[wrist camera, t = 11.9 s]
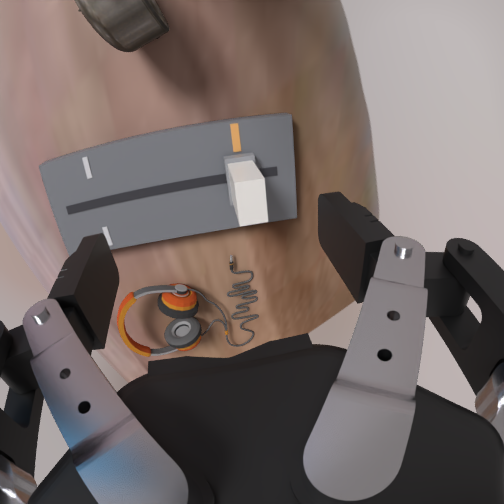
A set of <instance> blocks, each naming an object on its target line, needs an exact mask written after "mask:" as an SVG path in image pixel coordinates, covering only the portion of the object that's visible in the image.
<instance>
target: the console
mask: <svg viewBox="0 0 504 504" xmlns="http://www.w3.org/2000/svg"><path fill="white" fill-rule="evenodd" d="M252 152H253V154H254V155H255V164H256V166H257V168H258V169H259V171H260V172H261V174H262V175H263V177H264V178H265V189H266V201H267V213H268V222H274V221H280V220H287V219H293V218H297V203H296V180H295V160H294V142H293V126H292V115H291V114H288V113H277V114H266V115H257V116H248V117H239V118H231V119H224V120H217V121H210V122H204V123H198V124H192V125H186V126H181V127H175V128H170V129H165V130H160V131H155V132H150V133H146V134H141V135H137V136H133V137H128V138H124V139H120V140H116V141H112V142H108V143H105V144H101V145H97V146H94V147H90V148H86V149H83V150H80V151H76V152H73V153H70V154H67V155H63V156H60V157H57V158H54V159H51V160H48V161H45V162H44V163H42V164H41V165H40V166H39V169H40V173H41V176H42V180H43V183H44V186H45V189H46V193H47V196H48V199H49V202H50V205H51V208H52V211H53V214H54V217H55V220H56V222H57V225H58V228H59V231H60V233H61V236H62V238H63V241H64V244H65V246H66V249H67V251H68V254H69V256H71V255H72V254H73V253H74V252H76V250H77V248H78V246H79V244H80V242H81V241H82V239H83V237H85V236H90V235H94V234H99V233H103V234H104V235H105V237H106V239H107V242H108V245H109V248H110V250H112V249H117V248H122V247H127V246H133V245H138V244H144V243H149V242H155V241H160V240H166V239H171V238H177V237H183V236H189V235H194V234H200V233H206V232H212V231H218V230H224V229H230V228H236V227H242V226H239V222H238V219H237V215H236V212H235V208H234V205H230V202H229V194H228V187H227V180H226V172H225V165H224V156H231V155H238V154H245V153H252ZM265 223H267V222H265ZM258 224H261V223H258ZM252 225H255V224H252ZM246 226H248V225H246Z"/></svg>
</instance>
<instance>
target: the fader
mask: <svg viewBox="0 0 504 504" xmlns="http://www.w3.org/2000/svg"><path fill="white" fill-rule="evenodd" d="M224 165H225V172H226V180H227V187H228V194H229V202H230V205H234V208H235V212H236V215H237V219H238V222H239V226H246V225H252V224H258V223H265V222H268V213H267V201H266V189H265V178H264V177H263V175H262V174H261V172H260V171H259V169H258V168H257V166H256V164H255V155H254V154H253V152H252V153H245V154H238V155H231V156H224Z"/></svg>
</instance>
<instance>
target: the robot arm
mask: <svg viewBox="0 0 504 504" xmlns="http://www.w3.org/2000/svg"><path fill="white" fill-rule="evenodd" d="M318 237H319V241H320V244H321V247H322V249H323V250H324V252H325V253H326V255H327V256H328V258H329V259H330V261H331V262H332V264H333V266H334V267H335V269H336V270H337V272H338V273H339V275H340V276H341V278H342V280H343V281H344V283H345V284H346V286H347V288H348V289H349V291H350V292H351V294H352V296H353V297H354V299H355V301H356V302H357V303H362V302H364V303H363V305H362V308H361V312H360V315H359V318H358V321H357V324H356V327H355V330H354V333H353V336H352V339H351V341H350V344H349V347H348V350H346V349H344V348H340V347H336V346H330V345H320V344H312V342H311V340H310V338H309V335H308V333H306V334H302V335H297V336H293V337H288V338H284V339H279V340H274V341H270V342H267V343H265V344H262V345H260V346H257V347H255V348H253V349H250V350H248V351H245V352H243V353H241V354H238V355H236V356H233V357H230V358H209V357H190V356H185V357H178V358H171V359H163V360H155V361H149V362H148V374H145V375H143V376H141V377H139V378H136V379H135V380H133V381H131V382H129V383H128V384H127V385H125V386H124V387H123V388H121V389H120V390H119V391H118V392H116V390H115V389H114V388H113V387H112V385H111V384H110V383H109V381H108V380H107V378H106V377H105V375H104V374H103V373H102V371H101V370H100V368H99V367H98V365H97V364H96V363H95V361H94V360H93V358H92V357H91V352H92V350H96V349H104V348H105V343H106V338H107V333H108V328H109V324H110V319H111V315H112V310H113V306H114V302H115V298H116V294H117V290H118V286H119V273H118V269H117V266H116V263H115V261H114V258H113V255H112V253H111V250H110V248H109V245H108V242H107V239H106V237H105V235H104V234H103V233H99V234H94V235H90V236H85V237H83V239H82V241H81V242H80V244H79V246H78V248H77V250H76V252H74V253H73V254H72V255H71V256H70V257H69V258H68V259H67V260H66V261H65V263H64V265H63V267H62V269H61V271H60V273H59V275H58V279H56V281H55V283H54V285H53V287H52V289H51V291H50V294H49V296H48V298H47V299H45V300H41V301H39V302H37V303H36V304H34V305H33V306H32V307H31V308H30V309H29V310H28V311H27V312H26V314H25V316H24V318H23V325H21V326H19V327H16V328H14V329H11V330H9V331H8V329H7V328H6V327H5V325H4V324H3V322H2V321H0V377H1V378H2V379H3V380H4V381H5V382H6V384H7V385H8V386H9V391H8V395H7V399H6V404H5V408H4V411H3V410H2V409H1V408H0V504H504V271H503V270H502V269H501V267H499V265H497V263H496V262H495V261H494V260H493V259H492V258H491V257H490V256H489V255H487V253H485V251H483V250H482V249H481V248H480V247H479V246H478V245H477V244H475V243H474V242H472V241H469V240H466V239H463V238H454V239H451V240H449V241H448V242H447V244H446V248H445V252H425V249H424V247H423V246H422V245H421V244H420V243H419V242H417V241H415V240H413V239H411V238H408V237H402V236H394V235H393V234H392V233H391V232H390V231H389V230H388V229H387V228H386V227H385V226H384V225H383V224H382V223H381V222H380V221H378V219H377V218H376V217H375V216H373V215H372V213H371V212H369V211H368V210H367V209H366V208H365V207H363V206H361V205H359V204H357V203H355V202H353V203H351V202H350V201H349V200H348V199H347V198H346V197H345V196H344V195H343V194H342V193H341V192H332V193H325V194H320V195H319V198H318ZM470 296H471V297H472V298H473V299H474V301H475V302H476V303H477V304H478V305H479V307H480V309H481V312H482V321H481V324H480V323H479V322H478V320H477V319H476V318H475V316H474V315H473V314H472V312H471V311H470V310H469V308H468V307H467V306H466V305H467V302H468V300H469V297H470ZM426 317H429V319H430V320H431V322H432V323H433V325H434V326H435V328H436V329H437V331H438V332H439V334H440V336H441V337H442V339H443V340H444V342H445V344H446V345H447V347H448V348H449V350H450V352H451V353H452V355H453V357H454V358H455V360H456V362H457V363H458V365H459V367H460V368H461V370H462V372H463V374H464V375H465V377H466V379H467V381H468V382H469V384H470V386H471V387H472V389H473V391H474V393H475V395H476V400H475V407H476V412H477V413H474V412H472V411H470V410H468V409H466V408H464V407H461V406H460V405H457V404H455V403H453V402H451V401H449V400H447V399H445V398H443V397H441V396H439V395H437V394H435V393H433V392H430V391H429V390H427V389H424V388H423V387H421V386H419V385H417V379H418V373H419V367H420V360H421V354H422V346H423V338H424V329H425V320H426ZM44 398H45V401H46V403H47V405H48V407H49V409H50V411H51V414H52V416H53V418H54V419H55V422H56V424H57V426H58V428H59V430H60V432H61V433H62V435H63V437H64V439H65V441H66V443H67V445H68V447H69V450H68V451H67V452H66V453H65V454H64V456H63V457H62V458H61V459H60V460H59V462H58V463H57V464H56V465H55V467H54V468H53V469H52V470H51V471H50V473H49V474H48V475H47V476H46V477H45V479H44V480H43V481H42V482H41V483H40V485H39V486H38V487H37V484H36V482H35V480H34V470H35V459H36V448H37V440H38V432H39V425H40V417H41V412H42V406H43V400H44Z"/></svg>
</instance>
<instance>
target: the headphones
mask: <svg viewBox="0 0 504 504" xmlns="http://www.w3.org/2000/svg"><path fill="white" fill-rule="evenodd" d="M229 264H230V270H231V272H232V273H234V274H238V273H244V272H250V273H251V278H250V279H249V280H247V281H244V282H240V283H235V284H233V285H232V287H233V288H242V289H238V290H233V291H229V292H228V293H227V296H228V297H233V296H238V295H242V294H244V295H243V296H242V299H252V298H256V300H254V301H250V302H246V303H242V304H238V305H236V308H237V309H241V308H247V310H245V311H240V312H236V313H234V314H232V316H231V317H232V319H242V318H247V317H253V316H257V317H254V318H251V319H248V320H246V321H244V322H242V323H241V324H240V328H241V329H242V330H245V331H249V332H252V333H253V335H252V337H251V338H250V339H249V340H248V341H247V342H245V343H243V344H241V345H233V344H231V343H230V342H229V340H228V337H227V334H228V330H227V321H226V318H225V315H224V313H223V312H222V310H221V309H220V308H219V307H218V306H217V305H216V304H215V303H213V302H211V301H209V300H207V299H206V298H205V296H204V295H203V294H202V293H200V292H199V291H197V290H194V289H192V288H190V287H189V286H186V285H184V284H178V283H177V284H170V285H160V286H150V287H145V288H142V289H139V290H137V291H136V292H130V293H129V294H128V295H127V296H126V297H125V299H124V300H123V301H122V303H121V305H120V307H119V310H118V315H117V325H118V330H119V333H120V335H121V338H122V339H123V341H124V343H125V344H126V345H127V346H128V347H129V348H130V349H131V350H132V351H134V352H136V353H138V354H140V355H143V356H147V357H149V356H150V355H153V356H157V355H164V354H168V353H171V352H174V351H177V350H180V351H187V350H191V349H193V348H194V347H196V346H197V345H198V343H199V342H200V339H201V336H203V335H204V334H205V333H206V332H207V331H208V330H209V329H210V327H211V325H212V324H213V322H215V321H220V322H222V323H223V325H224V327H225V334H226V339H227V342H228V343H229V344H230V345H231V346H237V347H238V346H242V345H245V344H246V343H248V342H249V341H250V340H251V339H252V338H253V336H254V332H253V331H251V330H247V329H244V328H242V324H243V323H245V322H248V321H250V320H253V319H256V318H258V317H259V315H250V316H244V317H239V318H234V317H233V315H235V314H238V313H243V312H247V311H248V310H249V308H248V307H238V306H240V305H245V304H249V303H253V302H255V301H257V299H258V298H257V297H256V296H254V297H249V298H243V297H244V296H247V295H252V294H256V293H257V290H251V291H247V292H243V293H239V294H235V295H229V293H232V292H237V291H241V290H245V289H248V288H249V287H250V286H249V285H244V286H238V287H234V285H239V284H243V283H247V282H249V281H251V280H252V278H253V273H252V271H240V272H234V271H233V261H232V255H230V263H229ZM243 287H246V288H243ZM161 292H162V293H161ZM195 292H197V293H199V294H200V295H202V296H203V298H204V299H205V300H206V301H207V302H209V303H212V304H214V305H215V306H216V307H217V308H218V309H219V310H220V311H221V313H222V315H223V317H224V320H225V323H224V322H223V321H222V320H219V319H217V320H213V321H212V322H211V324H210V326H209V327H208V329H207V330H206V331H205V332H204V333H203V334H201V330H202V329H201V325H200V323H199V322H198V320H197V319H196V318H194V317H193V316H194V315H195V314H196V313H197V311H198V306H199V303H198V300H197V297H196V293H195ZM250 292H254V293H250ZM151 293H161V294H160V295H159V298H158V307H159V309H160V310H161V312H162V313H164V314H165V315H167V316H169V317H172V318H176V319H175V320H174V321H172V322H171V323H170V324H169V325H168V326H167V328H166V330H165V339H166V341H167V343H168V344H169V345H170V346H168V347H165V348H160V349H150V348H149V347H147V346H143V345H140V344H138V343H137V342H135V341H134V340H133V339H132V338H131V337H130V336H129V335H128V333H127V332H126V329H125V324H124V318H125V315H126V312H127V311H128V309H129V308H130V307H131V306H132V304H134V303H135V302H136V300H137V298H139V297H141V296H143V295H146V294H151ZM246 293H249V294H246Z"/></svg>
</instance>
